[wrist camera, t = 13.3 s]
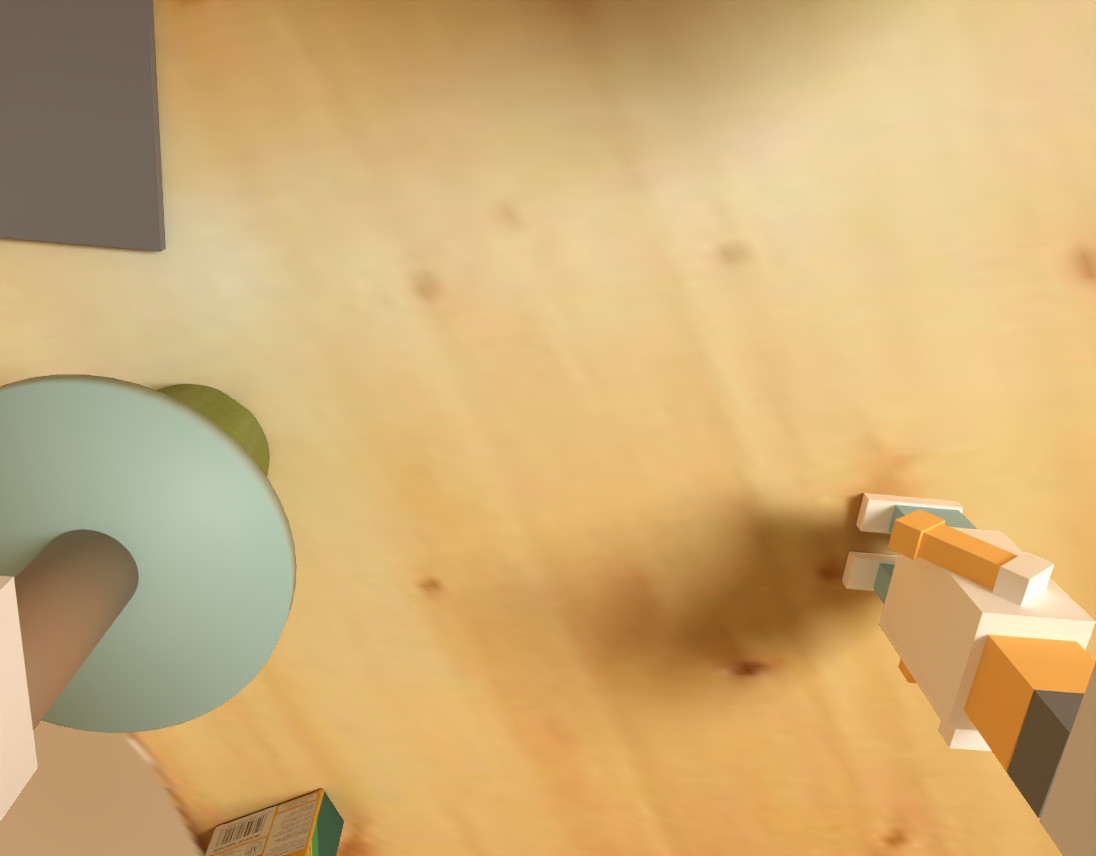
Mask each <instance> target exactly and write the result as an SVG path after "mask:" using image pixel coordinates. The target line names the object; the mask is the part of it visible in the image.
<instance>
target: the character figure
mask: <svg viewBox="0 0 1096 856" xmlns="http://www.w3.org/2000/svg"><path fill="white" fill-rule="evenodd" d="M962 511H963V507H962V506H961V505H960V504H959V503H958V502H957V501H948V500H937V499H926V498H915V497H904V496H892V495H881V494H870V493H864V494H863V498H862V502H861V506H860V510H859V514H858V518H857V522H856V525H857V527H858V528H859V529H860V531H863V532H875V533H886V534H891V537H890V541H889V545H888V548H889V549H891V550H893V551H895V552H897V553H898V555H888V554H877V553H865V552H853V551H849V554H848V558H847V562H846V566H845V570H844V574H843V578H842V582H843V584H844V586H845V587H846V589H856V590H868V591H876V593H877V594H878V596H879V597H880V599H881V600H882V602H883V603H884V607H883V611H882V615H881V618H880V622H879V625H880V627H881V629H882V630H883V632H884V633H885V635H886V636H887V638H888V639H889V641H890V642H891V644H892V646H893V647H894V649H895V650H896V652H897V653H898V655H899V656H900V658H901V660H900V663H899V668H900V670H901V672H902V673H903V675H904V676H905V678H906V679H907V681H908V682H910V683H917V684H918V686H919V687H920V689H921V690H922V692H923V693H924V695H925V697H926V698H927V700H928V701H929V703H930V704H931V706H932V707H933V709H934V710H935V712H936V714H937V715H938V717H939V718H940V720H941V722H940V725H939V729H938V731H939V732H940V734H941V735H942V737H943V739H944V740H945V742H946V743H947V745H948V747H949V748H956V749H970V750H984V751H992V752H993V753H994V755H995V756H996V758H997V759H998V760H999V762H1000V763H1001V765H1002V766H1003V768H1004V769H1005V771H1006V772H1007V773H1008V775H1009V776H1010V778H1011V779H1012V781H1013V782H1014V784H1015V785H1016V786H1017V788H1018V789H1019V791H1020V792H1021V794H1022V795H1023V797H1024V798H1025V799H1026V801H1027V802H1028V804H1029V805H1030V807H1031V808H1032V810H1033V811H1034V812H1035V814H1036V815H1037V817H1038V818H1041V815H1042V813H1043V810H1044V807H1045V804H1046V801H1047V798H1048V796H1049V793H1050V790H1051V787H1052V784H1053V781H1054V778H1055V776H1056V773H1057V770H1058V767H1059V764H1060V761H1061V759H1062V756H1063V753H1064V750H1065V747H1066V744H1067V742H1068V739H1069V736H1070V733H1071V730H1072V727H1073V724H1074V722H1075V719H1076V716H1077V713H1078V710H1079V707H1080V705H1081V702H1082V699H1083V696H1084V693H1085V690H1086V688H1087V685H1088V682H1089V679H1090V676H1091V673H1092V671H1093V668H1094V665H1095V662H1096V661H1095V660H1094V659H1093V658H1092V657H1091V656H1090V655H1089V654H1088V653H1087V652H1086V651H1085V650H1086V647H1087V644H1088V642H1089V639H1090V636H1091V634H1092V631H1093V628H1094V625H1095V623H1096V622H1095V621H1094V620H1093V619H1092V618H1091V617H1090V616H1089V615H1088V614H1087V613H1086V612H1085V611H1084V610H1083V609H1082V608H1081V607H1080V606H1079V605H1078V604H1077V603H1076V602H1075V601H1073V600H1072V599H1071V598H1070V597H1069V596H1068V595H1067V594H1066V593H1065V592H1064V591H1063V590H1062V589H1061V588H1060V587H1059V586H1058V585H1057V584H1056V583H1055V582H1054V581H1053V580H1052V579H1051V578H1050V575H1051V572H1052V569H1053V566H1054V563H1052V562H1049V561H1047V560H1045V559H1042V558H1040V557H1037V556H1035V555H1033V554H1030V553H1028V552H1024V553H1023V552H1022V551H1021V550H1020V549H1019V548H1018V547H1017V546H1016V545H1015V544H1014V543H1013V542H1012V541H1011V540H1010V539H1009V538H1008V537H1007V536H1006V535H1005V534H1004V533H1002V532H1001V531H991V530H980V529H977V528H976V527H975V526H974V525H973V524H972V523H971V522H970V521H969V520H968V519H967V518H966V517H965V516H964V515H963V514H962Z"/></svg>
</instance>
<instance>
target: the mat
mask: <svg viewBox="0 0 1096 856" xmlns="http://www.w3.org/2000/svg"><path fill="white" fill-rule="evenodd" d="M0 238H10V239H22V240H34V241H46V242H57V243H69V244H81V245H93V246H104V247H116V248H128V249H140V250H151V251H162V250H164V249H165V230H164V211H163V192H162V173H161V154H160V135H159V116H158V97H157V78H156V59H155V40H154V21H153V1H152V0H0Z"/></svg>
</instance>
